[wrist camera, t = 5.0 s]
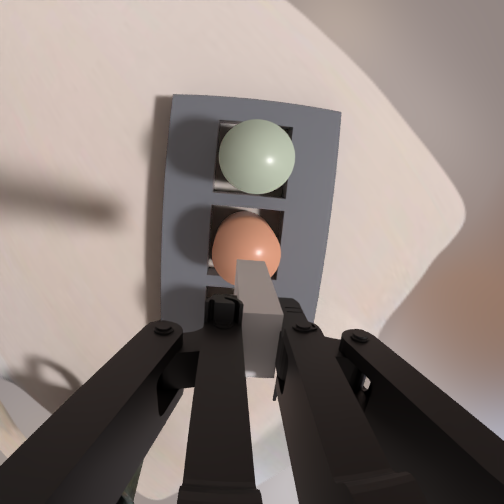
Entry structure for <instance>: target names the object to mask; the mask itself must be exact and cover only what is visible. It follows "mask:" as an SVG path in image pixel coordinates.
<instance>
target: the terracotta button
mask: <svg viewBox="0 0 504 504" xmlns="http://www.w3.org/2000/svg"><path fill="white" fill-rule="evenodd" d="M280 258H281V249H280V244H279V242H278V239H277V237H276V236H275V234H274V232H273V231H272V229H271V228H270V226H269V224H268V223H267V222H266V221H265V220H264V219H263V218H262V217H261V216H259V215H257V214H255V213H252V212H244V211H243V212H237V213H234V214H232V215H230V216H228V217H227V218H225V219H224V220H223V221H222V223H221V224H220V226H219V227H218V230H217V233H216V237H215V240H214V244H213V248H212V261H213V264H214V267H215V269H216V271H217V273H218V274H219V275H220V276H221V277H222V278H223V279H224V280H225V281H227V282H228V283H230V284H232V285H235V275H236V263H237V259H241V260H254V261H265V263H266V266H267V269H268V272H269V274H270V277H272V275H273V274H274V273H275V272H276V270H277V268H278V266H279V263H280Z"/></svg>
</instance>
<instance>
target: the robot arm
mask: <svg viewBox="0 0 504 504" xmlns="http://www.w3.org/2000/svg"><path fill="white" fill-rule="evenodd" d="M275 367H276V371H277V378H276V384H275V389H274V395H273V401H276V397H277V396H278V401H279V406H280V411H281V416H282V421H283V426H284V431H285V436H286V441H287V446H288V451H289V456H290V461H291V466H292V471H293V476H294V481H295V485H296V491H297V495H298V501H299V504H504V441H503V440H502V439H501V438H499V437H498V436H497V435H496V434H495V433H494V432H492V431H491V430H490V429H489V428H487V427H486V426H485V425H484V424H482V423H481V422H480V421H479V420H477V419H476V418H475V417H474V416H472V414H470V413H469V412H468V411H467V410H465V409H464V408H463V407H462V406H461V405H459V404H458V403H457V402H456V401H454V400H453V399H452V398H451V397H449V396H448V395H447V394H446V393H444V392H443V391H442V390H441V389H439V388H438V387H437V386H436V385H434V384H433V383H432V382H431V381H430V380H428V379H427V378H426V377H425V376H423V375H422V374H421V373H420V372H418V371H417V370H416V369H415V368H414V367H412V366H411V365H410V364H408V363H407V362H406V361H405V360H404V359H402V358H401V357H400V356H398V355H397V354H396V353H394V351H392V350H391V349H390V348H389V347H387V346H386V345H385V344H384V343H382V342H381V341H380V340H379V339H377V338H376V337H375V336H374V335H372V334H370V333H369V332H366V331H364V330H361V329H360V330H359V329H350V330H346V331H344V332H343V333H342V336H341V340H339V339H333V338H328V337H324V335H323V333H322V331H321V329H320V328H319V327H318V326H317V325H316V324H314V323H311V322H308V320H307V318H306V316H305V314H304V313H303V310H302V309H301V306H300V304H299V302H297V301H296V300H294V299H293V298H283V297H277V294H276V291H275V289H274V286H273V283H272V280H271V277H270V274H269V272H268V269H267V266H266V263H265V261H254V260H241V259H237V263H236V275H235V287H234V295H223V294H214V295H213V296H211V297H210V298H207V299H206V301H205V310H204V326H203V328H201V329H199V330H197V331H193V332H185V333H183V329H182V327H181V326H180V325H179V324H177V323H174V322H171V321H166V320H162V321H161V320H159V321H155V322H151V323H149V324H148V325H146V326H145V327H144V328H143V329H142V330H141V331H140V332H138V333H137V334H136V335H135V336H134V337H133V338H132V339H131V340H130V341H129V342H128V343H127V344H126V345H125V346H124V347H123V348H121V349H120V350H119V351H118V352H117V353H116V354H115V355H114V356H113V357H112V358H111V359H110V360H109V361H108V362H107V363H106V364H105V365H104V366H102V367H101V368H100V369H99V370H98V371H97V372H96V373H95V374H94V375H93V376H92V377H91V378H90V379H89V380H88V381H87V382H86V383H85V384H84V385H83V386H82V387H80V388H79V389H78V390H77V391H76V392H75V393H74V394H73V395H72V396H71V397H70V398H69V399H68V400H67V401H66V402H65V403H64V404H63V405H62V406H61V407H60V408H59V409H58V410H57V411H56V412H55V413H54V414H53V415H52V416H50V417H49V418H48V419H47V420H46V421H45V422H44V423H43V425H41V426H40V428H38V429H37V430H36V431H35V432H34V433H33V434H32V435H31V436H30V437H29V438H28V439H27V440H26V441H25V442H24V443H23V444H22V445H21V446H20V447H19V448H18V449H17V450H16V451H15V452H14V453H13V454H12V455H11V456H10V457H9V458H8V459H7V460H6V461H5V462H4V463H3V464H2V465H1V466H0V504H116V503H117V501H118V500H119V498H120V497H121V495H122V493H123V492H124V490H125V488H126V487H127V485H128V484H129V482H130V480H131V479H132V477H133V475H134V474H135V472H136V471H137V469H138V467H139V466H140V464H141V462H142V461H143V459H144V458H145V456H146V454H147V453H148V451H149V449H150V448H151V446H152V444H153V443H154V441H155V439H156V438H157V436H158V434H159V433H160V431H161V430H162V428H163V426H164V425H165V423H166V421H167V420H168V418H169V416H170V415H171V413H172V411H173V410H174V408H175V406H176V405H177V403H178V401H179V400H180V398H181V396H182V395H183V391H184V388H191V387H194V395H193V402H192V410H191V418H190V425H189V434H188V442H187V450H186V459H185V468H184V477H183V484H182V486H180V488H179V493H178V500H177V504H263V503H262V498H261V493H260V490H258V489H256V485H255V476H254V465H253V454H252V443H251V432H250V421H249V410H248V398H247V386H246V377H259V378H274V374H275ZM366 377H367V378H368V379H369V380H370V381H371V383H370V386H369V388H368V389H366V388H365V387H364V386H363V385H364V382H365V379H366Z"/></svg>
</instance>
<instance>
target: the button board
mask: <svg viewBox="0 0 504 504" xmlns="http://www.w3.org/2000/svg"><path fill="white" fill-rule="evenodd" d="M252 119H261V120H267V121H270V122H272V123H274V124H276V125H278V126H279V127H281V128H282V129H285V130H289V137H290V139H291V141H292V143H293V146H294V150H295V163H294V167H293V170H292V173H291V175H290V176H289V178H288V179H287V180H286V182H285V183H284V186H283V195H282V197H278V196H268V195H258V194H247V193H235V192H222V191H214V183H215V172H216V161H217V150H218V140H219V130H220V123H226V124H239V123H241V122H244V121H247V120H252ZM340 124H341V112H339V111H333V110H328V109H322V108H316V107H310V106H304V105H297V104H290V103H283V102H275V101H267V100H258V99H248V98H236V97H223V96H207V95H179V94H173V100H172V108H171V117H170V126H169V135H168V146H167V157H166V169H165V183H164V199H163V219H162V246H161V321H162V320H166V321H171V322H174V323H177V324H179V325H180V326H181V327H182V329H183V333H185V332H193V331H197V330H199V329H201V328H203V326H204V310H205V301H206V299H207V286H214V287H227V288H234V287H235V285H232V284H230V283H228V282H227V281H225V280H224V279H223V278H222V277H221V276H220V275H219V274H218V273H217V271H216V269H215V268H208V266H209V250H210V235H211V221H212V208H213V205H222V206H235V207H247V208H258V209H269V210H279V211H281V214H280V223H279V232H278V242H279V244H280V249H281V258H280V263H279V266H278V268H277V270H276V272H275V273H274V274H273V275H272V277H271V280H272V283H273V286H274V289H275V291H276V294H277V297H283V298H293V299H294V300H296V301H297V302H299V304H300V306H301V309H302V310H303V313H304V314H305V316H306V318H307V320H308V322H311V323H314V318H315V313H316V307H317V301H318V296H319V290H320V284H321V278H322V272H323V266H324V259H325V253H326V246H327V239H328V232H329V225H330V217H331V210H332V202H333V193H334V185H335V176H336V167H337V157H338V147H339V136H340Z"/></svg>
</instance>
